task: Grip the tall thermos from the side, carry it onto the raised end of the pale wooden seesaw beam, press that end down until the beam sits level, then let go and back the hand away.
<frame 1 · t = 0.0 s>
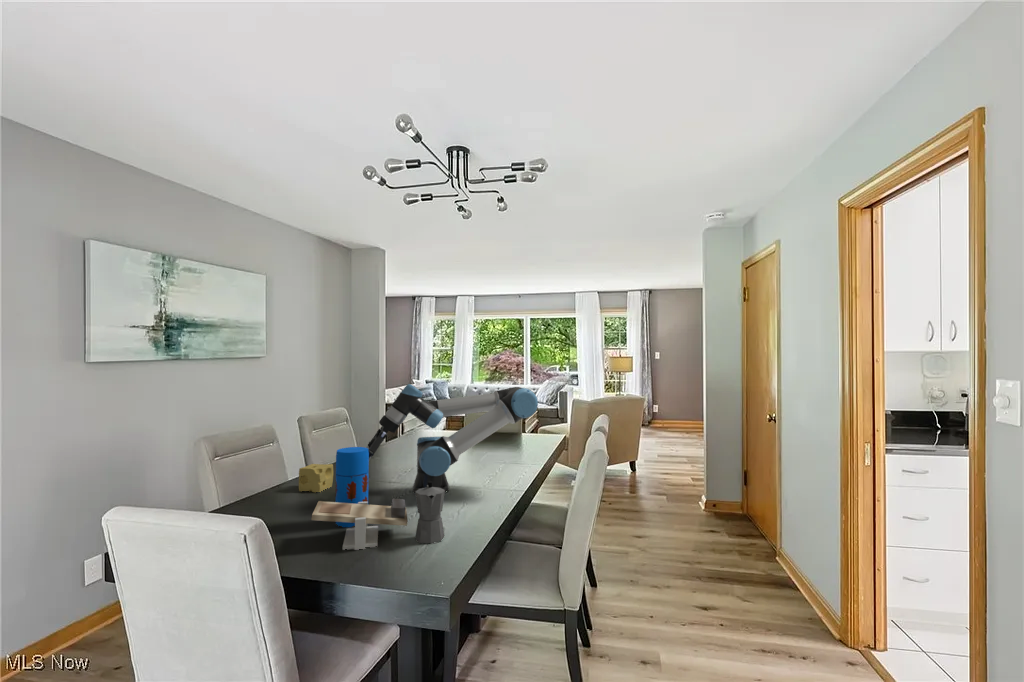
hand: (358, 465, 192), 15 cm above the table, tool tilted 35°, fingers open, 13 cm apart
fulcrum: (361, 538, 156), on the table
coffeepot: (429, 538, 158), on the table
beam: (362, 508, 157), point 9 cm above the table, hinge at -8.0°
thermos: (351, 522, 172), on the table
cheese: (315, 489, 214), on the table
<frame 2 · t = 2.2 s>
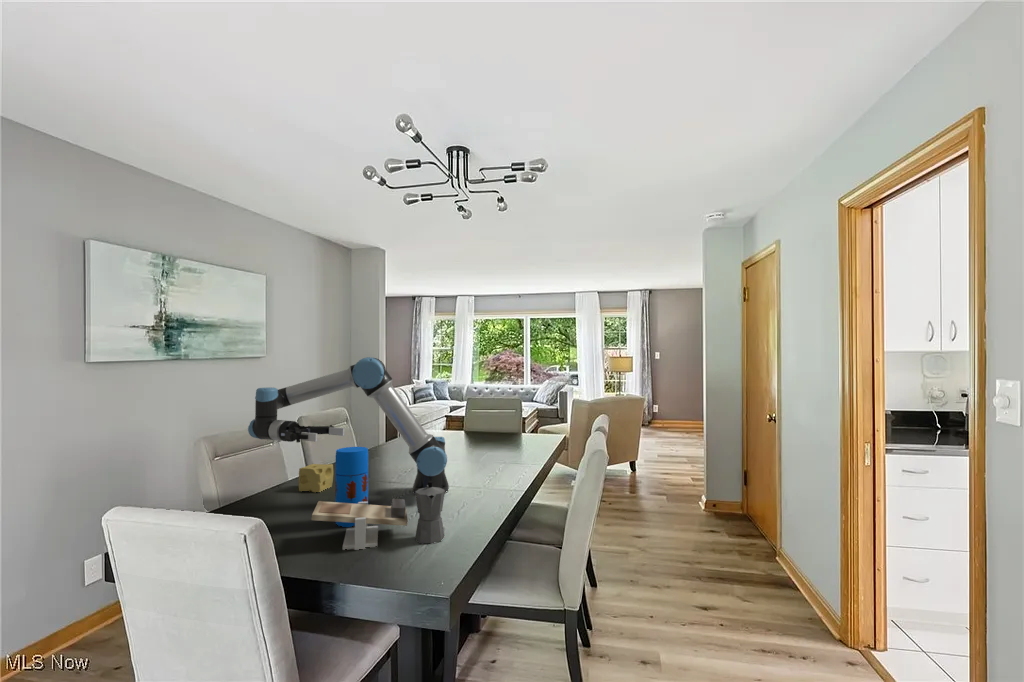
hand: (330, 434, 176), 30 cm above the table, tool horizontal, fingers open, 13 cm apart
nothing on the table moved.
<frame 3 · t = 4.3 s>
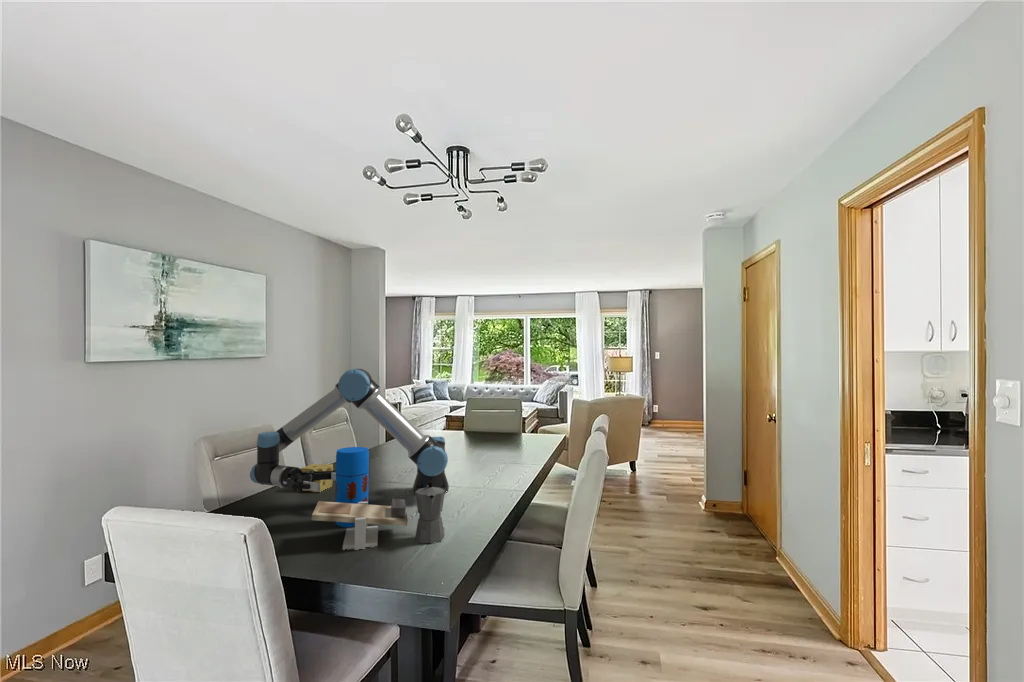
hand: (332, 482, 175), 13 cm above the table, tool horizontal, fingers open, 13 cm apart
nothing on the table moved.
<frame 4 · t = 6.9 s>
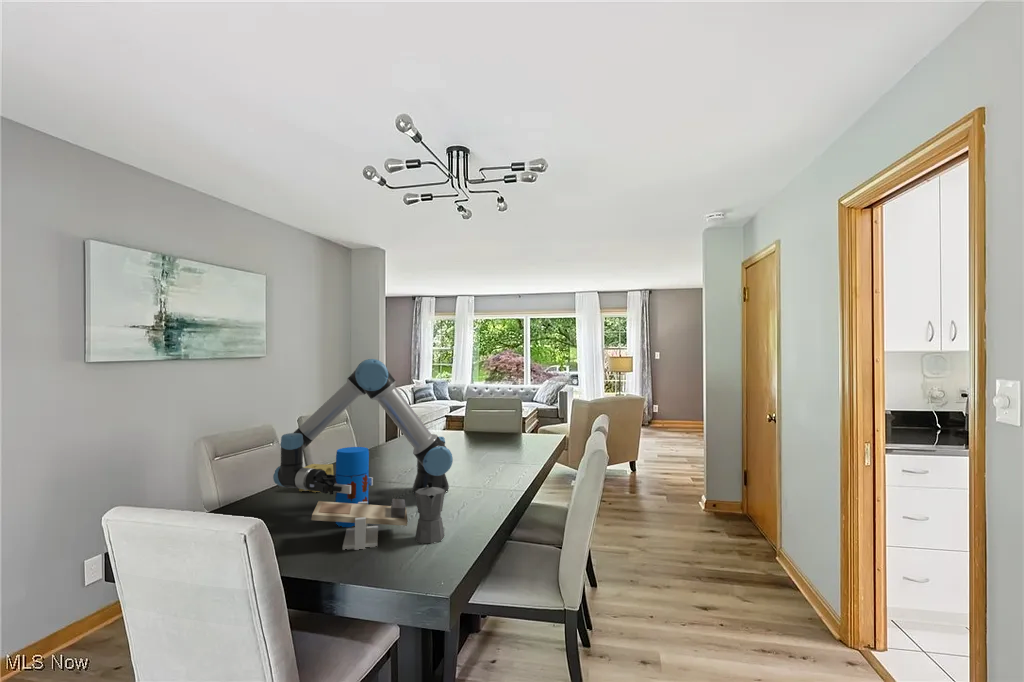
hand: (361, 485, 171), 13 cm above the table, tool horizontal, fingers closed on thermos, 11 cm apart
thermos: (351, 522, 172), on the table, touching gripper
everything else where it was.
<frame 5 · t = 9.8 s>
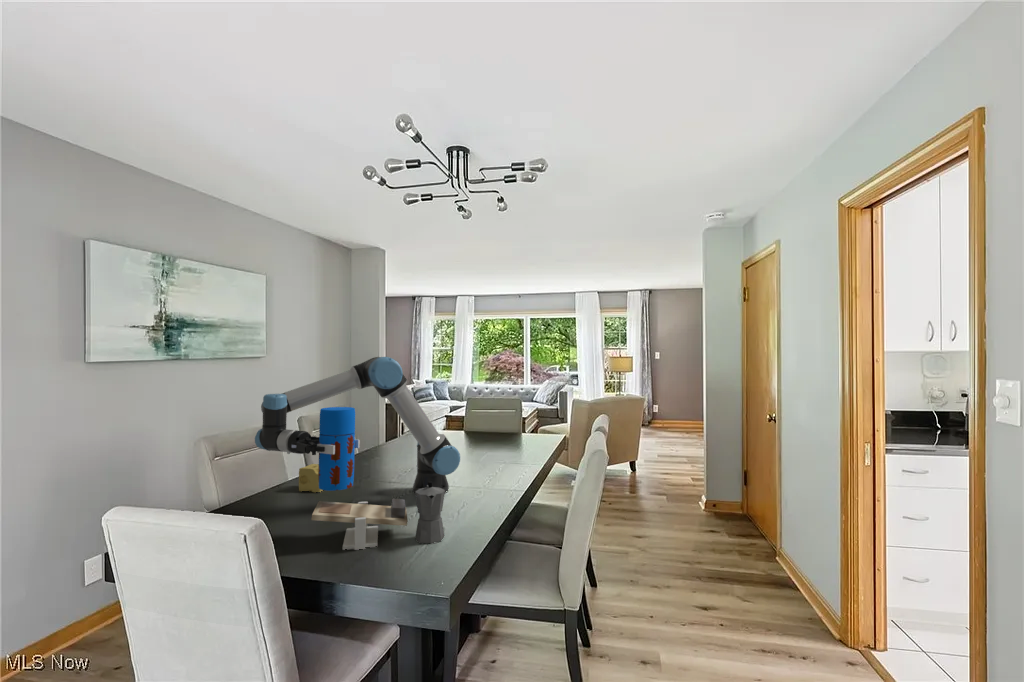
hand: (347, 446, 159), 29 cm above the table, tool horizontal, fingers closed on thermos, 11 cm apart
thermos: (336, 486, 160), point 15 cm above the table, touching gripper
everything else where it was.
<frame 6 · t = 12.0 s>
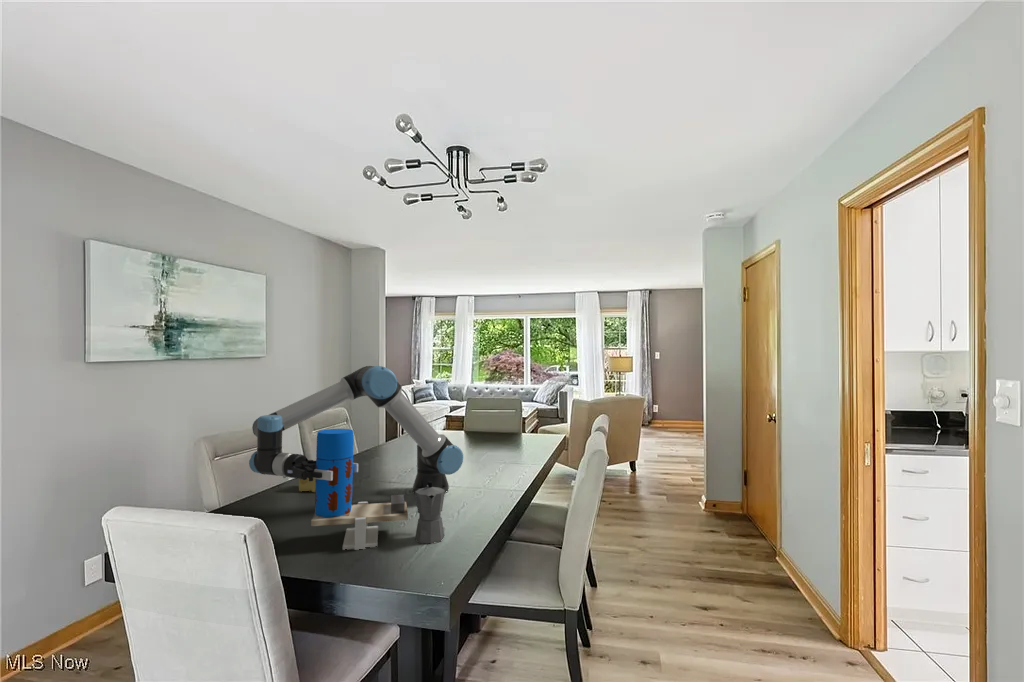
hand: (345, 471, 153), 22 cm above the table, tool horizontal, fingers closed on thermos, 11 cm apart
beam: (361, 508, 157), point 9 cm above the table, hinge at -0.8°, touching thermos
thermos: (333, 512, 155), point 9 cm above the table, touching beam, gripper
everything else where it was.
when the fingers open (22 cm above the table, at t = 13.2 s): thermos stays where it is, resting on beam.
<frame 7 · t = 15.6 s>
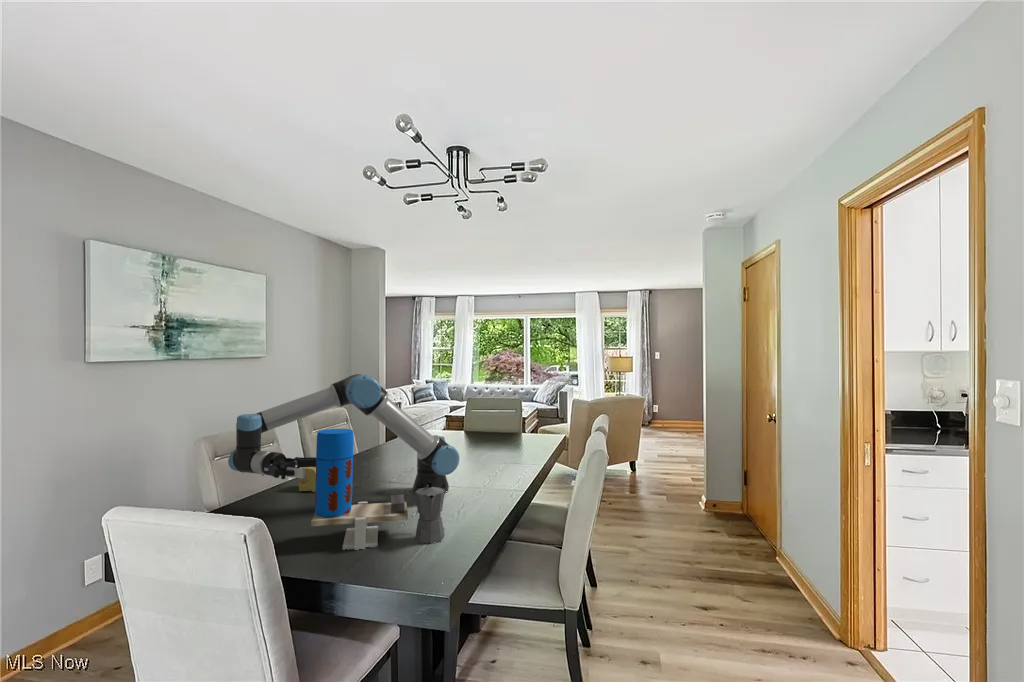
hand: (320, 469, 157), 22 cm above the table, tool horizontal, fingers open, 13 cm apart
thermos: (333, 512, 155), point 9 cm above the table, touching beam
everything else where it was.
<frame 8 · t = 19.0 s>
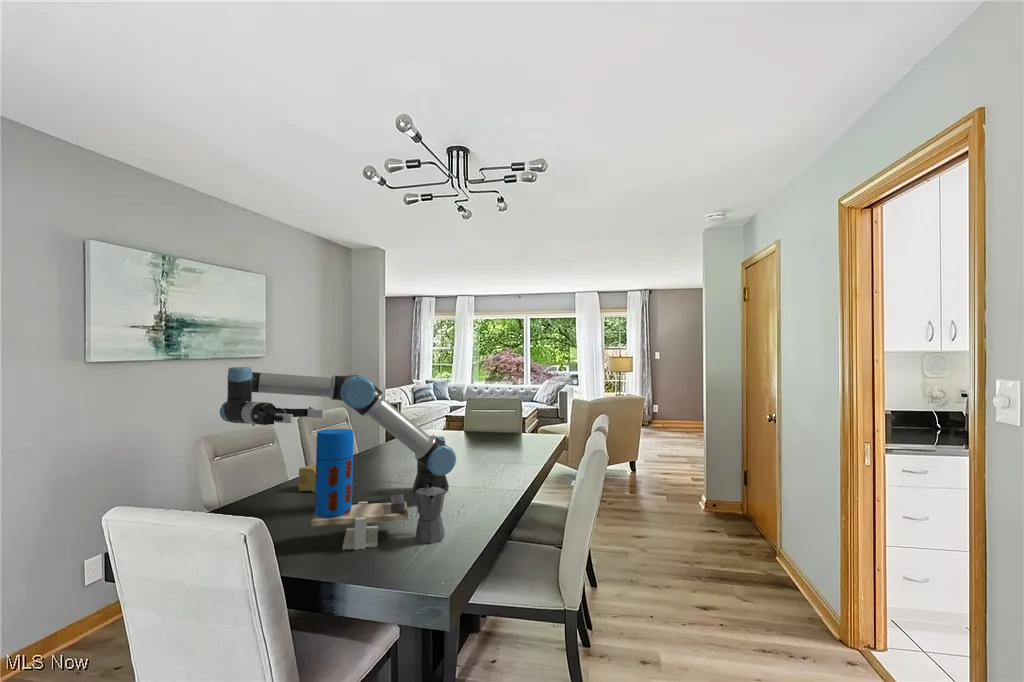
hand: (308, 416, 161), 38 cm above the table, tool horizontal, fingers open, 13 cm apart
nothing on the table moved.
at the end: beam at -1° (first picture: -8°); thermos inside the target area on the beam (0.5 cm from its centre), point 0.9 cm above the beam's base; thermos tilted 1° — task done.
